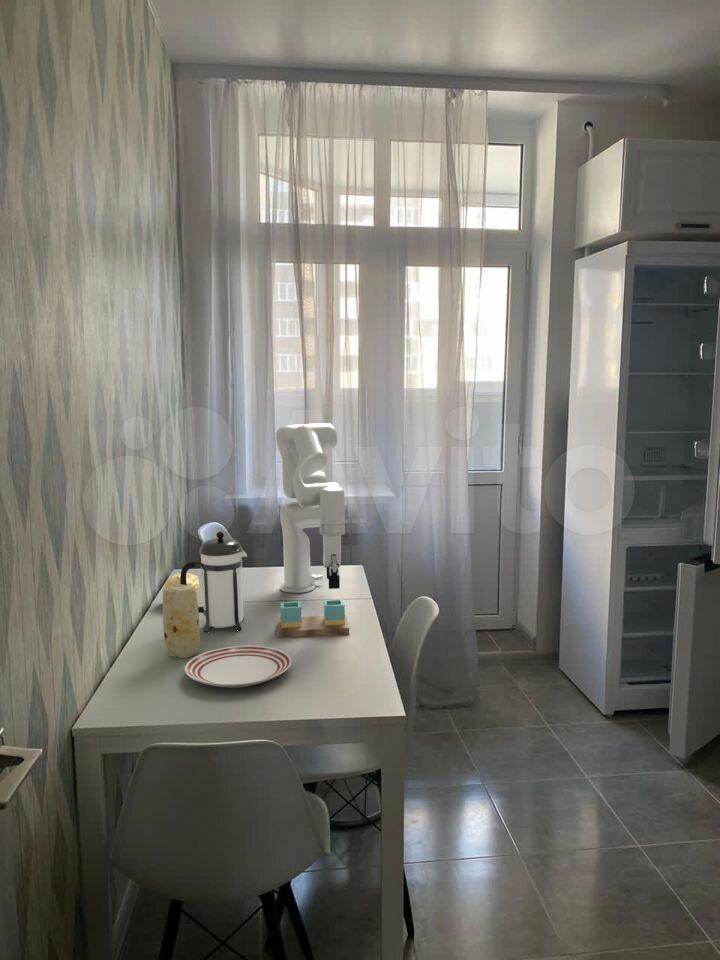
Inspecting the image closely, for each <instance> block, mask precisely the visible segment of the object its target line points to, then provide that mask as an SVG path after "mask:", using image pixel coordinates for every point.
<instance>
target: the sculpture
mask: <svg viewBox="0 0 720 960" xmlns="http://www.w3.org/2000/svg"><path fill="white" fill-rule="evenodd" d="M180 575H181V572H180V573H176V574H174V575H172V576H170V577H168V578H167V580H166V582H165V583H164V586H163V587H164V588H163V590H164V589H165V588H167V587H169V586H172V585H177V584H180ZM186 581H187V585H190V586H193V587H195V588H196V593H197V599H198V598H199V596H200V589H201V587H200V585H201V583H200V579H199V576H198V575H195V574H192V573H189V572H187V574H186Z"/></svg>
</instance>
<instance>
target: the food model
mask: <svg viewBox="0 0 720 960" xmlns="http://www.w3.org/2000/svg"><path fill="white" fill-rule="evenodd" d="M198 607H199V602H198V598H197V593H196V588H195V587H193V586H190V585H182V584H177V585H172V586H169V587H167V588H165V589H164V588H163V591H162V625H163V626H162V627H163V634H164V635H163V636H164V642H165V646H166V647H165V648H166V650H167V652H168V655H169V656H170V657H178V658H179V659H188V658H190V657H192V656H194V655H196V654H198V653H199V652H200V650H201V645H200V641H201V640H200V639H201V638H200V635H201V634H200V633H201V632H200V613H199V611H198Z"/></svg>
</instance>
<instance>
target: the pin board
mask: <svg viewBox="0 0 720 960" xmlns="http://www.w3.org/2000/svg"><path fill="white" fill-rule="evenodd" d="M301 620H302V627H286V628H282V626H281V617H278V618H277V630H278V631H277V633H278V634H277V636H278V638H279V639H282V638H283V639H285V638H297V637H298V638H299V637H300V638H302V636H304V637H319V636H320V637H321V636H323V637H325V636H338V635H341V636H342V634H343V635H350V625H349V622H348V618H347V614H345V625H325V622H324V615H315V616H301Z"/></svg>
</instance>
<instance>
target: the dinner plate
mask: <svg viewBox="0 0 720 960" xmlns="http://www.w3.org/2000/svg"><path fill="white" fill-rule="evenodd" d="M291 665H292V657H290V655H289V654H288V653H286V652H284V651H282V650H280V649H278V648H274V647H269V646H268V647H267V646H263V645H235V646H226V647H222V648H221V647H219V648H217V649H211V650H208V651H205V652H202V653H200V654H198V655H196V656H193V658H191V659H190V660H189V661H187V663H186V664H185V666H184V672H185V674H186V676H187V677H189V678H190V679H191V680H193V681H196V682H198V683H200V684H204V685H206V686H212V687H219V688H225V687H227V688H226V689H232V688H233V689H237V688H246V687H251V686H256V685H258V684H259V685H260V684H262V683H265V682H267V681H271V680H273V679H275V678H277V677H279V676H280V675H282V674H283V673H285V672H286V671H287V670H288V669H290V667H291Z"/></svg>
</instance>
